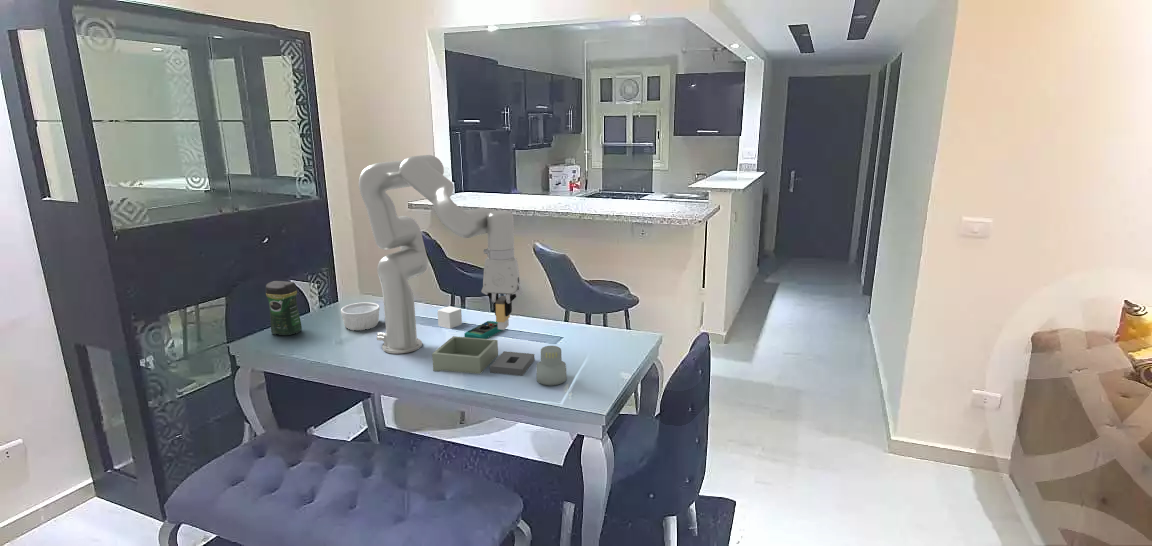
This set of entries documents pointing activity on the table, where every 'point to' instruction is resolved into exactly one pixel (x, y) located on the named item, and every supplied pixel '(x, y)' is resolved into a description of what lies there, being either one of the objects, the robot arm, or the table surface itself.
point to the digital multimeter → (483, 330)
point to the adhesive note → (449, 317)
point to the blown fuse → (501, 313)
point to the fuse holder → (512, 363)
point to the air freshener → (551, 367)
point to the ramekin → (360, 315)
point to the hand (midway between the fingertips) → (502, 314)
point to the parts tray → (465, 355)
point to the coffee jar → (283, 307)
